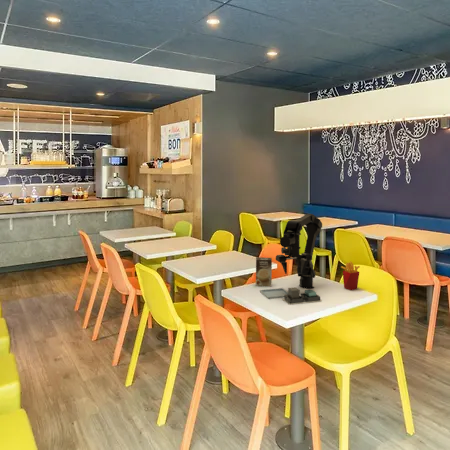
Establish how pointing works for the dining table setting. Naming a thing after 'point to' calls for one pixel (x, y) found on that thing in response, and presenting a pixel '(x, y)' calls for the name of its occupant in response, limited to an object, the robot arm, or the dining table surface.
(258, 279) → the coffee box
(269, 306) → the dining table surface
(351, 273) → the french fries
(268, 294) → the tray
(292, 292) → the block
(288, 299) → the double socket holder
